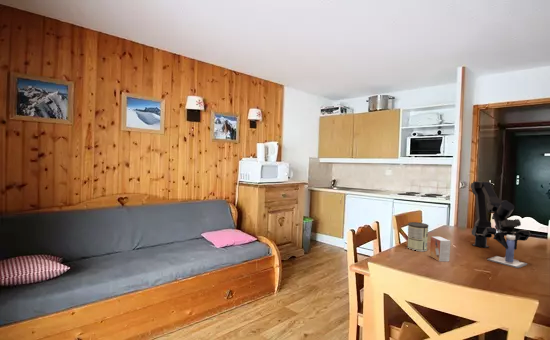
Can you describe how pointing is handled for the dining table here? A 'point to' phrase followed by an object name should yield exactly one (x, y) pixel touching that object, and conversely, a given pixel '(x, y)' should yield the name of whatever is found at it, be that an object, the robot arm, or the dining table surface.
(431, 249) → the small box
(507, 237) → the marker
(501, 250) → the dining table surface
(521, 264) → the clipboard
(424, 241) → the coffee can
